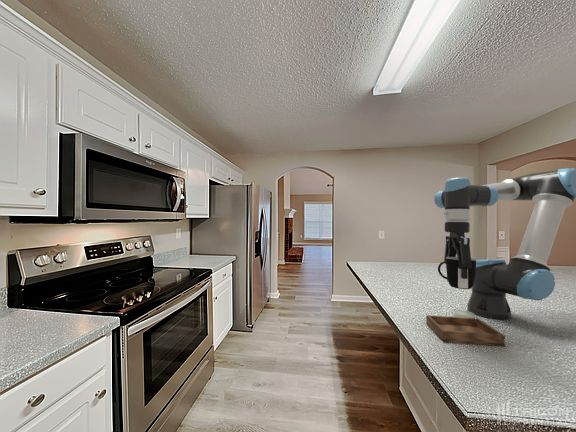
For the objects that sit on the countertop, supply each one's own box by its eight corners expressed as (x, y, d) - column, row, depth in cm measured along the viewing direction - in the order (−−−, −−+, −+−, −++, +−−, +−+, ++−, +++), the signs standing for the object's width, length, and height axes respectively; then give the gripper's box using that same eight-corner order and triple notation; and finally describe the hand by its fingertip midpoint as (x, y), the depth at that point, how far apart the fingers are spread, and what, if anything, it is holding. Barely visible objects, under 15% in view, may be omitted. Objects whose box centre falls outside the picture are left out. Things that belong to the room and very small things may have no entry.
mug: (480, 288, 92) (480, 259, 92) (470, 291, 87) (470, 261, 87) (443, 281, 101) (443, 255, 102) (432, 284, 96) (432, 256, 96)
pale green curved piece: (469, 320, 105) (469, 310, 105) (479, 327, 98) (479, 316, 98) (450, 319, 106) (450, 309, 106) (458, 326, 99) (458, 315, 99)
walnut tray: (478, 327, 97) (478, 318, 97) (504, 346, 82) (504, 335, 83) (426, 323, 100) (426, 315, 100) (442, 341, 85) (442, 331, 85)
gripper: (434, 221, 105) (434, 277, 105) (458, 220, 84) (458, 291, 83) (455, 221, 104) (455, 279, 103) (485, 221, 82) (485, 293, 82)
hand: (456, 284), depth 93 cm, fingers closed on mug, 9 cm apart
